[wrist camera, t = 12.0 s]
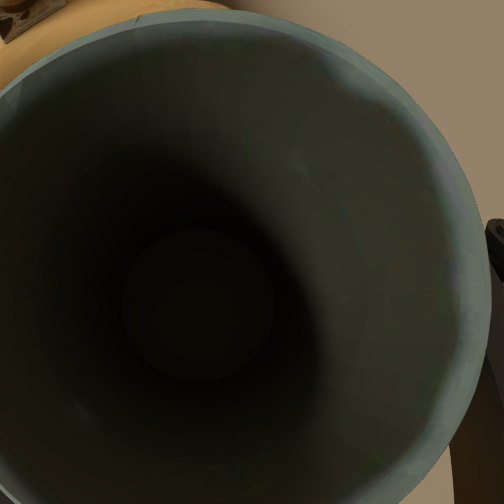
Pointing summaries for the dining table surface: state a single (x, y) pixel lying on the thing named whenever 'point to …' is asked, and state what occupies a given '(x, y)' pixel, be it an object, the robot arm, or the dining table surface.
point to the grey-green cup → (229, 271)
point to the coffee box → (23, 15)
